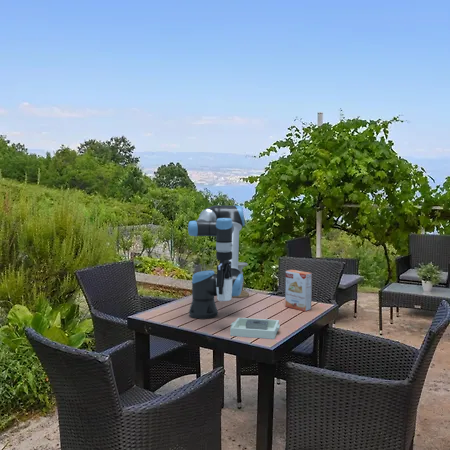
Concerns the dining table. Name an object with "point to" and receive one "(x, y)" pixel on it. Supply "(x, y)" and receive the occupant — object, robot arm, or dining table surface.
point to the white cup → (226, 289)
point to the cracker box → (298, 290)
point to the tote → (241, 331)
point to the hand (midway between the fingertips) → (224, 298)
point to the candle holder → (243, 292)
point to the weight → (257, 325)
